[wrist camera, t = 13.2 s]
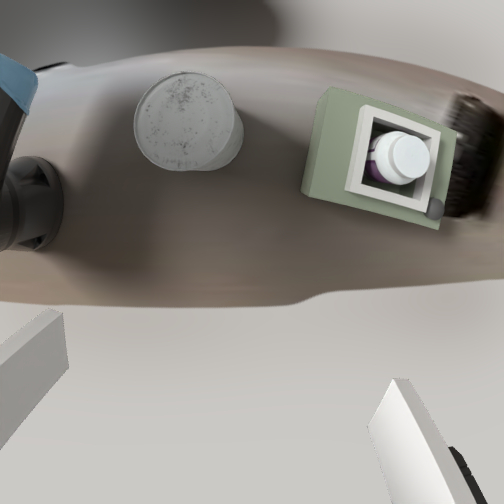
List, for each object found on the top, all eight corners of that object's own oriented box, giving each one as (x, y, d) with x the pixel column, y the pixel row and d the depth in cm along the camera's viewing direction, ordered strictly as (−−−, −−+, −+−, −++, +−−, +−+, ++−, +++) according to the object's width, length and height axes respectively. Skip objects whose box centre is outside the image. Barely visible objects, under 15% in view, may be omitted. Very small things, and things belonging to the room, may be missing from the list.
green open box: (299, 191, 39) (311, 198, 29) (317, 102, 36) (334, 81, 26) (410, 219, 39) (446, 233, 29) (426, 136, 36) (466, 130, 26)
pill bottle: (398, 181, 34) (438, 186, 25) (358, 183, 34) (389, 188, 25) (394, 137, 33) (433, 128, 23) (353, 137, 33) (383, 127, 24)
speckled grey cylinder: (259, 126, 37) (257, 106, 25) (213, 185, 39) (192, 192, 27) (200, 86, 36) (174, 54, 24) (156, 144, 38) (115, 136, 26)
